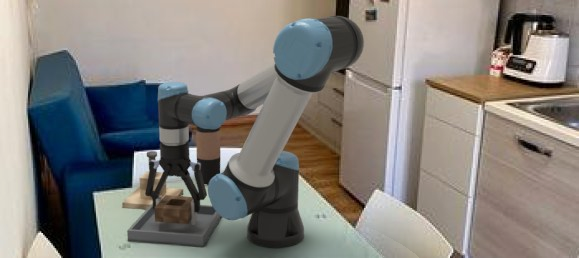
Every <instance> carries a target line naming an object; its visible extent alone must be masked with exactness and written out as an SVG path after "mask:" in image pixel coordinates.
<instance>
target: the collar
mask: <svg viewBox="0 0 579 258" xmlns="http://www.w3.org/2000/svg"><path fill="white" fill-rule="evenodd" d="M192 200H193V198H192V196H184V195H182V196H171V195H165V196H164V198H163V199H162V200H161V201H160V202H159V203H158V204H157V205H156V206H155V222H167V223H180V224H189V222H190V221H191V219H192V215H191V201H192Z"/></svg>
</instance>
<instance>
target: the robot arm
mask: <svg viewBox="0 0 579 258" xmlns="http://www.w3.org/2000/svg"><path fill="white" fill-rule="evenodd" d="M364 47H365V40H364V34H363V32H362V30H361V28H360V27H359V25H358V24H357V23H356V22H355V21H353V20H352V19H351V18H348V17H344V16H341V15H333V16H325V17H319V18H302V19H298V20H296V21H293V22H291V23H288V24H287V25H284V27H283V28H281V30H280V31H279V32H278V34H277V35H276V38H275V40H274V43H273V48H272V53H273V54H274V57H273V59H274V60H273V61H274V63H273V64H272V65H270V66H269V67H267V68H264V69H263V70H261V71H260V72H258V73H256V74H254V75H252V76H251V77H249V78H247V79H246V80H244V81H242V82H241V83H239V84H237V85H236V86H234V87H232V88H230V89H226V90H222V91H218V92H214V93H209V94H204V95H196V94H191V93H189V88H188V85H187V84H186V83H184V82H181V81H168V82H164V83H163V82H162V83H160V84H159V85H158V87H157V88H158V89H157V90H158V92H157V104H158V105H157V108H158V126H159V128H158V129H159V133H158V134H159V141H160V143H159V152H160V153H159V154H160V155H159V156H160V158H159V159H157V160H155V159H156V158H155V159H153V160H151V161H150V162H149V161H148V171H149V169H150V171H149V177H148V182H147V187H146V192H145V195H146V196H150V197H152V199H153V209H155V206H156V205H157V204H158V203H159V202H160V201H161V200H162V196H159V194H160V192H161V190H162V188H163V186H164V184H165V181H166V182H167V179H168V177H178V178H179V177H180V178H181V180H182V181H183V182H184V184H185V186H186V189H187V190H188V192H189V194H190V197H192V198H193V200H192V201H191V215H192V219H191V222H192V225H195V223H196V222H197V212H199V211H200V205H201V201H204V200H205V199H206V198H207V196H208V198H209V201H210V204H211V206H213V208H214V209H215V211H216V212H217V213H218V214H219V215H220V216H221V218H223V219H225V220H227V221H237V220H240V219H245V218H246V217H248V216H250V217H249V221H248V223H247V225H246V237H247V239H248V240H249V241H250V242H251V243H253V244H255V245H257V246H261V247H264V248H274V249H276V248H279V249H280V248H287V247H291V246H294V245H296V244H299V243H300V242H302V240H303V239H304V238H305V226H304V223H303V220H302V217H301V214H300V211H299V181H300V175H299V174H300V170H301V169H300V163H299V157H298V156H297V155H296V154H294V153H292V152H289V151H285V150H284V148H285V146H286V144H287V143H288V141H289V139H290V137H291V135H292V133H293V131H294V129H295V127H297V124H298V122H299V120H300V118H301V116H302V114H303V113H304V110H305V109H306V107H307V105H308V103H309V101H310V100H311V97H312V95H313V94H318V93H321V92H322V91H323V90H324V88H325V86H326V84H327V82H328V80H330V79H329V78H330V76H331V75H332V74H333V73H335V72H337V71H340V70H344V69H347V68H349V67H351V66H353V65H354V64H355V63H357V62H358V60H359V59H360V57H361V55H362V53H363V51H364ZM258 107H261V109H260V111H259V113H258V115H257V117H256V119H255V121H254V122H253V126H252V127H251V129H250V131H249V133H248V136H247V138H245V139H246V140H245V142H244V144H243V146H242V147H241V150H240V152H238V153H235V154H232V156H231V157H230V158H229V160H228V161H229V162H228V161H227V163H226V166H225V168H224V169H223V171H222V173H221V172H220V174H217V175H216V176H214V177H213V178H212V179H211V180H210V182H209V184H208V185H207V189H206V185H204V181H203V177H202V173H201V165H202V164H201V162H198V163H197V162H193V161H192V160H191V159H190V143H189V140H190V135H189V133H190V132H189V129H190V127H189V125H191V126H195V127H196V126H198V127H200V128H204V129H217V128H219V127H220V128H221V126H222V125H224V123H225V122H226V121H228V120H231V119H235V118H240V117H245V116H247V115H250V114H252V113H254V112H255V111H256V110H257V108H258ZM159 167H161V169H162V170H163V174H162V176H161V178H160V181H159V183H158V185H157V187H156V189H155V191H153V187H154V182H155V177H156V172H158V168H159ZM190 168H191V170H192V172H193V174H194V179H195V183H196V185H195V183H194V181H193V179H192V177H191V174H190V172H189V170H188V169H190Z"/></svg>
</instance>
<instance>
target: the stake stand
mask: <svg viewBox="0 0 579 258" xmlns="http://www.w3.org/2000/svg"><path fill="white" fill-rule="evenodd" d="M146 157H147V158H148V163H149V162H150V161H151V160H153V159H155V160H156V158H157V157H158V152H157V151H154V150H152V151H147V152H146ZM149 171H150V169H149V168H148V171H145V172H144V173H143V174H142V175H141V176H140V177H139V178H138V179H139V186H138V187H137V188H136V189H135V190H134V191H133V192H132V193H131V194H130V195H128V197H127V198H125V199H124V200H123V202H122V204H121V205H122V208H125V209H141V210H147V209H148V207H149V206H150V205H151V204H152V203H153V199H152V197H150V196H146V195H145V192H146V187H147V182H148V177H149ZM163 172H164V171H163ZM163 172H162V171H157V172H156V177H155V182H154V187H153V191H155V189H156V187H157V185H158V183H159V181H160V178H161V176H162V174H163ZM165 195H171V196H181V195H182V196H183V195H184V189H183V188H173V187H172V188H171V187H167V180H166V181H165V184H164V186H163V188H162V190H161V192H160V194H159V196H162V199H163V198H164V196H165Z"/></svg>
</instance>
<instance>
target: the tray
mask: <svg viewBox="0 0 579 258" xmlns="http://www.w3.org/2000/svg"><path fill="white" fill-rule="evenodd" d="M221 219H222V217H221V216H220V215H219V214H218V213H217V212H216V211H215V209H214V208H213V206H212V205H209V204H206V205H205V204H200V211H199V212H197V222H196V223H195V225H192V222H191V221H190V222H189V224H180V223H167V222H155V209H153V203H152V204H151V205H150V206H149V207H148V209H145V210H144V212H142V214H140V216H139V217H138V218H137V219H136V220H135V221H134V222H133V223H132V225H131V226H129V228H128V229H127V231H126V232H127V233H126V234H127V242H135V243H148V244H159V245H161V244H162V245H171V246H173V245H174V246H183V247H185V246H187V247H196V248H197V247H199V248H204V246H205V245H206V243H207V241H208V240H209V238H210V237H211V236H212V233H213V232H214V230H215V229H216V227H217V225H218V224H219V222H220V220H221Z"/></svg>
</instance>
